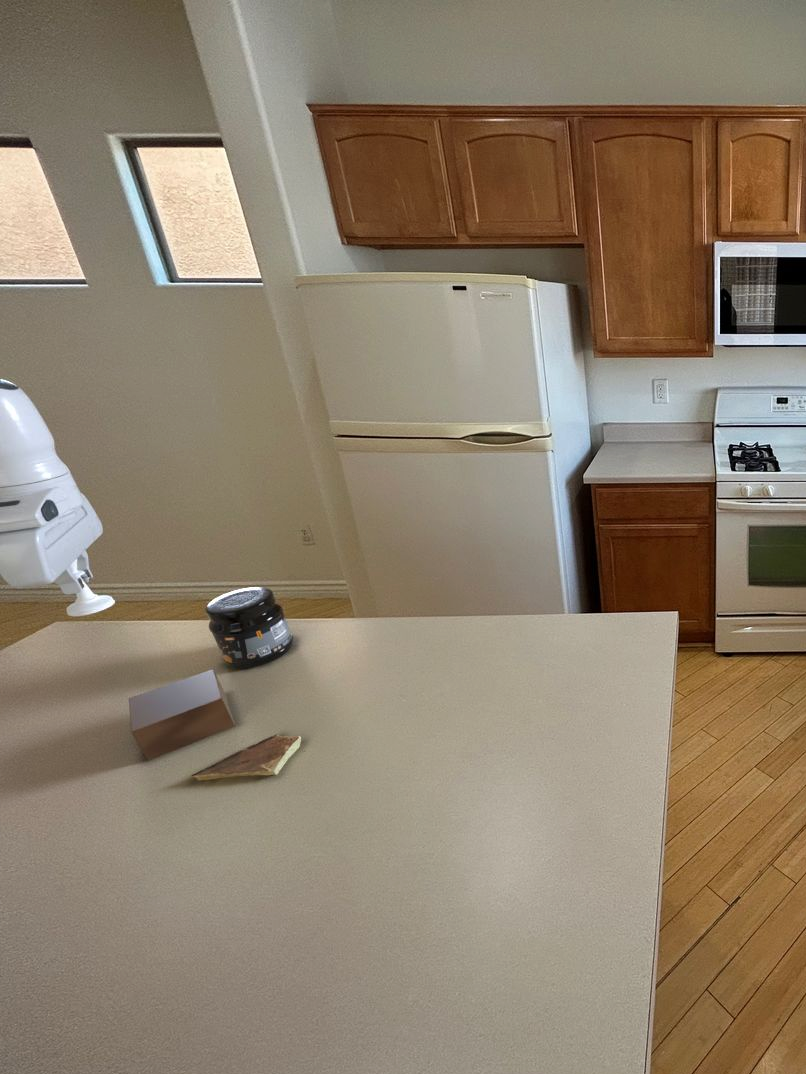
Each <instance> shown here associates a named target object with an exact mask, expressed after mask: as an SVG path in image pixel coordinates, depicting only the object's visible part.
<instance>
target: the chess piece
mask: <svg viewBox="0 0 806 1074" xmlns="http://www.w3.org/2000/svg"><path fill="white" fill-rule="evenodd" d="M71 567H72V571H71V572H72V573H73V574H74V575H75V577H76V578H81V577H80V576H81V575H83V574H84V573H85V572H84V571H82V570H77V559H76V560H75V561H74V562H73V563H72V564H71ZM81 580H82V583H83V584H84V588H83V589H82V590H81V591H80V592H79V593H75V595H76V599H75V600H74V602H73V603H71V604H70V605H68V606H67V607H66V610H65V611H66V613H67V616H69V617H82V616H83V617H84V616H88V615H93V614H96V613H99V612H101V611H104V610H107V609H109V608H110V607H112V606H113V605H114V604H115V603H116V600H115V599H114V598H113V597H112V596H111V595H106V594H105V595H103V594H102V595H98V594H96V593H94V592H93V591H92V590H91V588H90V587H89V586H88V585H87V583H85V582H84V581H83V579H82V578H81Z"/></svg>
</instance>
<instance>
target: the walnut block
mask: <svg viewBox="0 0 806 1074" xmlns="http://www.w3.org/2000/svg"><path fill="white" fill-rule="evenodd" d="M128 707H129V722H130V723H129V724H130V733H131V734H132V736H133V738H134V740H135V741H136V743H137V745H138V747H139V749H140V750H141V752H142V754H143V755H144V757H145V759H146V761H147V762H149V761H152V760H155V759H158V758H160V757H163V756H165V755H167V754H170V753H173V752H174V751H177V750H180V749H182V748H184V747H187V746H189V745H192V744H194V743H197V742H199V741H201V740H204V739H207V738H209V737H213V736H214V735H216V734H219V733H222V732H225V731H226V730H229V729H231V728H234V727H236V725H235V721H234V718H233V715H232V711H231V708H230V704H229V701H228V699H227V695H226V692H225V690H224V688H223V687H222V684H221V682H220V680H219V677H218V675H217V674H216V672H215V669H214V668H213V669H210V670H206V671H204V672H201V673H198V674H195V675H192V676H190V677H189V676H188V677H187V678H183V679H181V680H178V681H174V682H172V683H169V684H166V685H163V686H160V687H157V688H154V689H152V690H148V691H145V692H142V693H140V694H136V695H134V696H130V697H129V698H128Z"/></svg>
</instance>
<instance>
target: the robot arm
mask: <svg viewBox="0 0 806 1074" xmlns="http://www.w3.org/2000/svg"><path fill="white" fill-rule="evenodd" d="M55 444H56V443H55V439H54V436H53V434H52V432H51V431H50V429H49V427H48V425H47V424H46V421H45V419H44V418H43V417H42V415H41V413H40V412H39V410H38V409H37V407H36V405H35V404H34V402H33V401H32V400H31V398H30V397H29V396H28V394H27V393H25V391H24V390H23V389H22V388H21V387H19V386H18V385H16V384H15V383H13V382H11V381H8V380H6V379H2V378H0V576H1V578H2V579H3V580H4V582H6V583H7V584H8V585H10V586H12V587H13V588H15V589H28V588H35V587H40V586H45V585H50V584H52V583H55V584H56V585H58V586H59V588H60V590H61V591H62V593H63V595H66V596H67V595H68V596H69V595H76V593H79V592H80V591H81V590H82V589H83V588H84V584H83V583H82V580H81V578H82V579H83V581H84V582H85V584H88V583H89V582H90V581H91V580H92V579H93V578H94V575H93V572H92V571H91V569H90V562H89V555H88V552H87V549H88V548H89V547H90V546H91V545H92V544H93V543H94V542H95V541H96V540H97V539H99V537H101V535H102V534H103V533H104V528H103V527H104V526H103V523H102V521H101V520H100V518H99V516H98V514H97V513H96V510H95V509H94V508H93V506H92V504H91V503H90V501H89V500H88V498H87V497H86V495H84V493H82V492H81V491H80V489H79V486H78V485H77V483H76V481H75V479H74V476H73V475H72V473H71V470H70V469H69V467H68V466H67V465H66V464H65V463H64V462H63V461H62V460H61V459H60V457H59V456H58V453H57V451H56V447H55ZM76 559H77V570H82V571H84V572H85V573H84V574H83V575H81V576H80V577H81V578H76V577H75V575H74V574H73V573H72V572H71V571H72V567H71V564H72V563H73V562H74V561H75V560H76Z"/></svg>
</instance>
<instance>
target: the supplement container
mask: <svg viewBox="0 0 806 1074" xmlns="http://www.w3.org/2000/svg"><path fill="white" fill-rule="evenodd" d="M204 612H205V614H206V616H207V618H208V620H209V623H208V630H209V631H210V633H211V634H212V636H213V638H214V641H215V643H216V644H217V647H218V649H219V651H220V654H221V656H222V659H223V662H224V664H225V665H226V666H228V667H230V668H232V669H237V670H239V669H240V670H245V669H253V668H257V667H261V666H265V665H267V664H270V663H272V662H274V661H277V660H278V659H281V658H282V657H284V656H285V655H286V654H288V653H289V652H290V651H291V649H293V647H294V644H295V639H294V636H293V633H292V632H291V630H290V627H289V624H288V621H287V619H286V616H285V613H284V609H283V606H282V604H281V603H279V602H278V601H276V597H275V595H274V592H273V590H272V589H270V588H268V587H263V586H254V587H246V588H241V589H237V590H233V591H230V592H227V593H223V594H222V595H220V596H218V597H216V598H214V599H213V600H211V601H210V602H209V603H208V604H206V606H205V611H204Z"/></svg>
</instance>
